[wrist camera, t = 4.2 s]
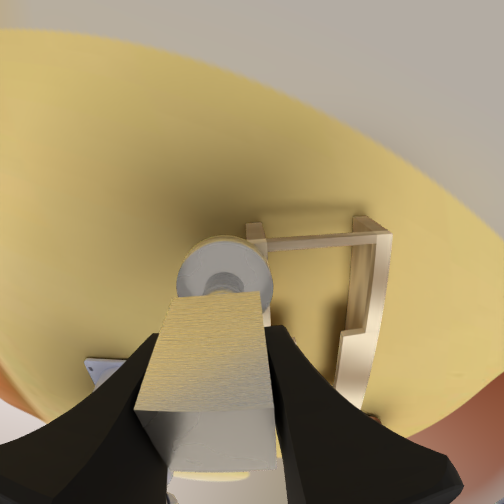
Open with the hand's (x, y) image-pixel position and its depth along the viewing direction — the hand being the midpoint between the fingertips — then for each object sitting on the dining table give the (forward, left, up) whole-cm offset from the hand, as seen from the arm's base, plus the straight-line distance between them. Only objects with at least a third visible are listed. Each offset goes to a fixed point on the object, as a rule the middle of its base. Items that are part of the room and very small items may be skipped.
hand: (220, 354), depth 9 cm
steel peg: (0, 0, -6) cm, 6 cm away
